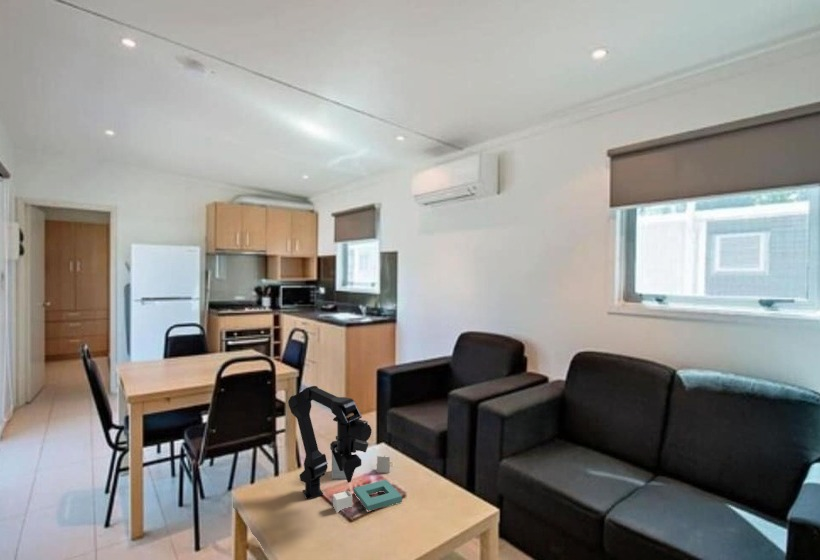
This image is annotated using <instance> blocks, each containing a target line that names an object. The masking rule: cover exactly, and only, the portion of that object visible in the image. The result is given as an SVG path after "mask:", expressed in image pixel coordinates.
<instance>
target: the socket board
mask: <svg viewBox="0 0 820 560" xmlns="http://www.w3.org/2000/svg"><path fill="white" fill-rule="evenodd" d="M379 491H384V492H385V493H386V494H384V493H382V494H381V495H380V494H379V495H377V496H374V497H371V496H369V494H372V493H376V492H379ZM354 493H355V494H356V496H357V497H358V498H359V499H360V501H361V502H362V504H363V505H364V506H365V508H366V509H367V510H368V511H369V510H373V509H376V508H381V507H385V506H389V505H392V504H395V505H397V504H396V503H399V504H401V503H400V502H402V503H403V495H402V494H401V493H400V492H399V491H398V490H397V489H396V488H395V487H394V486H393V484H391V483H390V482H389V480H387V479H382V480H379V481H374V482H371V483H367V484H363V485H359V486H357V487H356V486H355V487H354V488H353V494H354ZM362 504H361V505H362ZM392 506H393V505H392ZM389 507H390V506H389ZM365 508H364V509H365ZM385 508H386V507H385Z"/></svg>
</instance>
